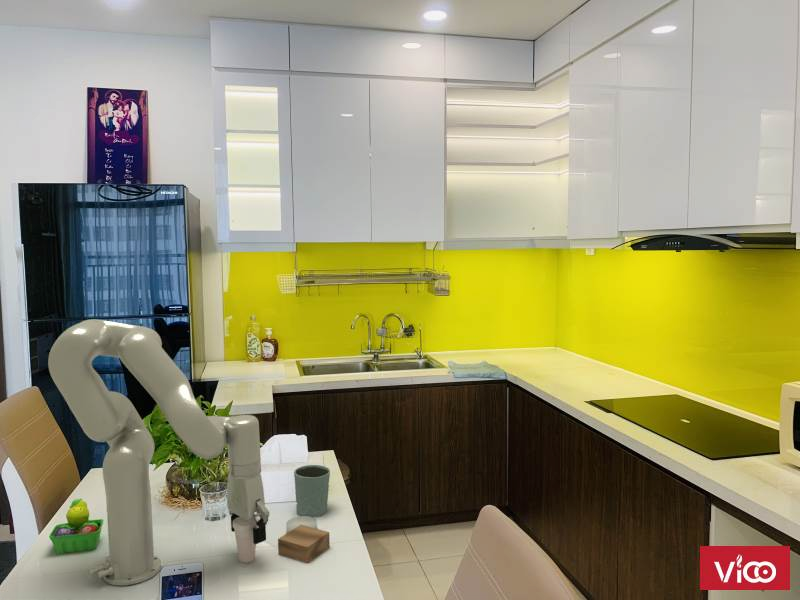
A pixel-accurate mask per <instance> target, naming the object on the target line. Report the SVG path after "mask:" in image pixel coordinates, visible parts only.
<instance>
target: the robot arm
mask: <svg viewBox="0 0 800 600" xmlns="http://www.w3.org/2000/svg"><path fill="white" fill-rule="evenodd" d="M162 345H163V342H162V339H161V336H160V334H159V333H158V332H157V331H155V330H154V329H152V328H149V327H147V326H141V325H135V324H127V323H123V322H122V323H121V322H116V321H110V320H104V319H97V318H96V319H95V318H93V319H86V320H83V321H80V322H79V323H76V324H74V325H72V326H70V327H68V328H66V329H65V330H64V331H63V332H62V333H61V334H60V335H59V336H58V337H57V339H56V340H55V342H54V343H53V345H52V346H51V348H50V352H49V354H48V363H47V365H48V371H49V374H50V376H51V378H52V380H53V382H54V384H55V386H56V387H57V389H58V391H59V392H60V394H61V396H62V397H63V399H64V401H65V402H66V403H67V405H68V407H69V410H70V411H71V413H72V414H73V415H74V417H75V419H76V421H77V422H78V424H79V425H80V427H81V429H82V430H83V433H84V434H85V435H86V436H87V437H88V438H89V439H90V440H93V442H97V443H105V442H106V443H107V444H108V446H109V449H108V450H107V452H106V454H105V455H104V459H103V463H102V479H103V484H104V490H105V499H106V500H105V501H106V514H107V533H108V534H107V536H108V551H109V552H108V555H107V556H105V557H104V561H103V562H101V564H99V565H95V566H92V567H89V568H87V570H86V572H87V577H88V578H92V577H95V576H97V578H98V579H101V578H102V580H103V581H104V582H105V583H107V584H109V585H112V586H131V585H136V584H139V583H143V582H145V581H148V580H149V579H152V577H154V576H156V575H157V574H158V573H159V572H160V571H161V568H162V561H161V559H160V558H159V557H158V556H155V550H154V529H153V528H154V527H153V509H152V508H153V507H152V493H151V482H150V463H151V462H152V459H153V455H154V452H155V441H154V439H153V436H152V434H151V433H150V431H149V429H148V428H147V426H146V424H145V422H144V421H143V419H142V417H141V416H140V414H139V413H138V411H137V409H136V408H135V406H134V404H133V403H132V401H131V400H130V399H129V398H128V397H127V396H125V395H124V394H122V393H121V392H117V391H111V390H109V389H108V387H107V386H106V384H105V382H104V380H103V379H102V377H101V376H100V375H99V373H98V372H97V371H96V370H95V369H94V367H93V365H92V364H93V361H94V359H95V358H97V357H99V356H102V357H111V358H115V359H117V358H118V359H120V361H121V363H122V364H123V365H124V366H125V368H127V369H128V371H129V372H130V373H131V374H132V375H133V376H134V378H135V379H136V380H137V381H138V382H139V383H140V385H141V386H142V387H143V388H144V389H145V390H146V391H147V393H148V394H149V395H150V396H151V397H152V399H153V400H154V401H155V402H156V404H157V406H158V408H159V410H160V411H161V413H162V414H163V416H164V418H165V419H166V421H167V423H168V424H169V425H170V427H171V428H172V429H173V431H174V432H175V434H176V435H177V437H178V438H179V439H180V440H181V441H182V442H183V444H185V446H187V447H186V448H188V449H189V450H190V452H192V454H193V455H195V456H197V457H198V458H201V459H205V460H212V459H214V458H216V457H218V456H220V455H221V453H222V452H223V451H224V449H225V446H227V461H228V462H227V463H228V476H227V481H226V482H227V483H226V484H227V486H226V494H225V498H226V500H227V501H226V502H227V503H226V504H227V505H226V506H227V510H228V511H229V513H228V514H229V515H230V527H231V528H230V529H231V532H233V533H235V530H234V528H233V526H232V525H233V520H234V519H236V518H237V517H242V518H244V519H246V520H249V519H251V520H252V522H253V525H254V528H253V542H254V544H256V545H257V544H260V543H263V542H265V541H266V540H267V529H266V525H268V522H269V517H270V510H268V508H267V507H266V505H265V504H266V501H265V491H264V483H263V479H262V474H261V473H262V461H261V459H262V458H261V442H260V441H261V440H260V424H259V423H260V422H259V419H258V418H257V417H256V416H255V415H252V414H241V415H235V416H223V415H222V416H221V415H209V416H207V415H206V413H205V412H204V411H203V409H202V408H201V406H200V405H199V403H198V402H197V400H196V398H195V396H194V392H193V389H192V386H191V384H190V381H189V379H188V378H187V376H186V374H185V373H184V372H183V371H182V370H181V369H180V368H179V367H178V365H177V364H176V363H175V362H174V360H173V359H172V358H171V357H170V356H169V354H168V353H167V352H166V351H165V349H164V348H163V347H162ZM256 517H258V518H259V521H258V522H257V520H256Z"/></svg>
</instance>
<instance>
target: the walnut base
mask: <svg viewBox="0 0 800 600" xmlns="http://www.w3.org/2000/svg"><path fill="white" fill-rule="evenodd" d="M277 547H278V548H277V550H278V551H277V552H278V555H279V556H282V557H286V558H289V559H292V560H296V561H299V562H302V563H305V564H309V563H310V562H312V561H313V560H314V559H316V558H317V557H319V556H320V555H321V554H323V553H324V552H325V551H327V550H328V549H330V547H331V546H330V532H329V531H327V530H322V529H319V528H317V529H315V528H312V527H308V526H304V525H299V526H298V527H296V528H295V529H293V530H291V531H290V532H288V533H285V534H283V535H282V536H280V537H279V538H278V539H277Z"/></svg>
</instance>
